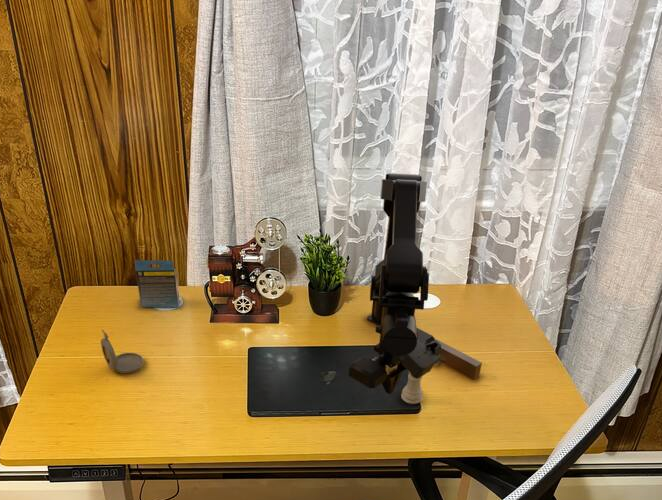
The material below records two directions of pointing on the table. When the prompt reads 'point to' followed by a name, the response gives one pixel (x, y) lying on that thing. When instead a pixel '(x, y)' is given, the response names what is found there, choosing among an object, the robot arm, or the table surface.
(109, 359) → the pocket watch
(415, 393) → the rook chess piece
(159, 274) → the blue product box
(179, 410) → the table surface
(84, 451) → the table surface
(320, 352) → the table surface
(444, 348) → the walnut rail
